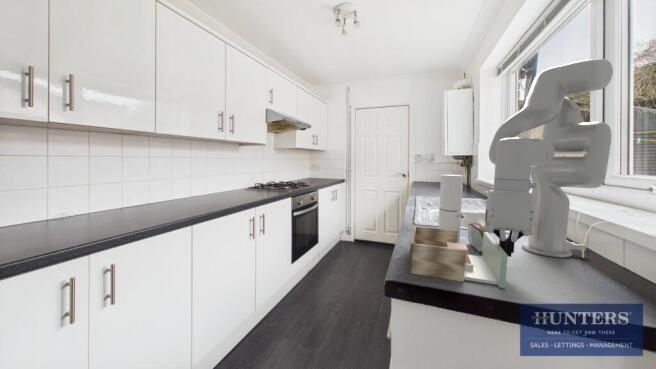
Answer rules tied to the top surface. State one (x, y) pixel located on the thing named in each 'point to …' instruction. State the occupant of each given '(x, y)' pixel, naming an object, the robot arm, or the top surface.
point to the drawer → (487, 264)
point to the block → (458, 246)
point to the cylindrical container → (450, 203)
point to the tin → (476, 236)
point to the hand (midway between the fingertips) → (505, 254)
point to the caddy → (436, 254)
